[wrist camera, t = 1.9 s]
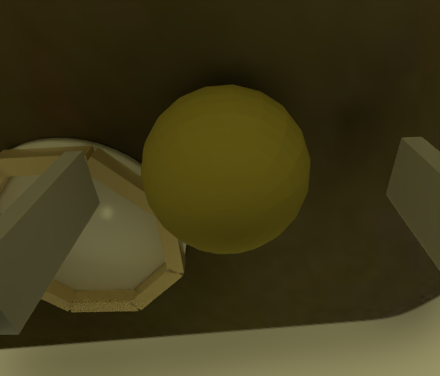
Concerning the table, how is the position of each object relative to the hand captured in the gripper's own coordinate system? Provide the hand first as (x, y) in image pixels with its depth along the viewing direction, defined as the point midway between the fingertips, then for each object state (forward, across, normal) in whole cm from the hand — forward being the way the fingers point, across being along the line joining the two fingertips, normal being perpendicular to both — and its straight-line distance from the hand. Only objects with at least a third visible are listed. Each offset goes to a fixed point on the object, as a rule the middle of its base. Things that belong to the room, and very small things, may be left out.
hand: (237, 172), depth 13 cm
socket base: (+6, -12, -8) cm, 15 cm away
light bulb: (+6, -1, 0) cm, 6 cm away
